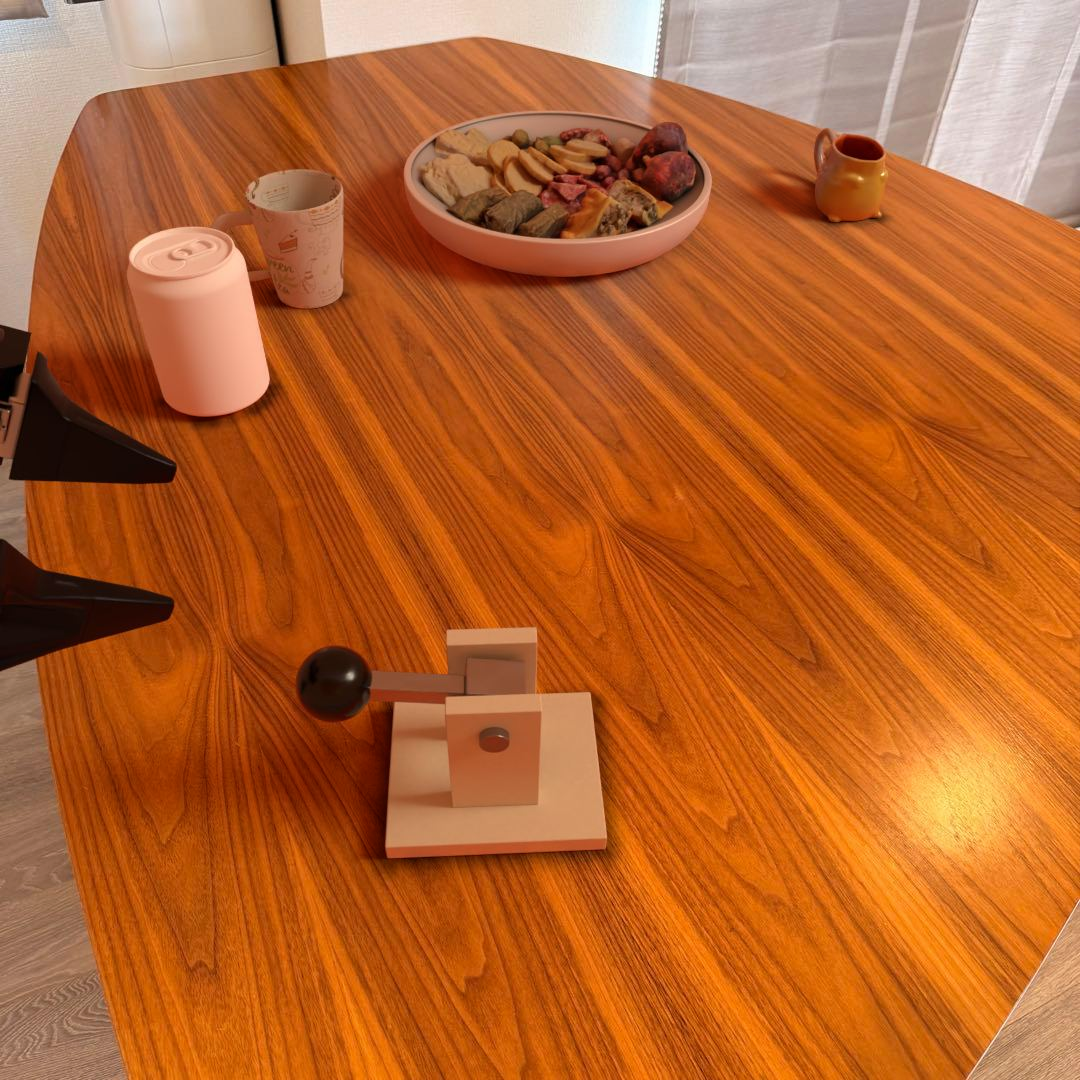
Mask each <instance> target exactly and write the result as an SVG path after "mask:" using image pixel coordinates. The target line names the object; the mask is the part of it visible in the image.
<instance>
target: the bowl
mask: <svg viewBox="0 0 1080 1080" xmlns="http://www.w3.org/2000/svg"><path fill="white" fill-rule="evenodd" d="M712 182H713V179H712V174H711V170H710V168H709V166H708V164H707V163H706V161H705V160H704V158H703V157H702V155H700V153H698V151H697V150H695V149H694V148H693V147H691V146H690V145H689V144H688V137H687V134H686V131H685V130H684V128H683V127H682V126H681V125H680V124H678V123H677V122H673V121H663V122H660V123H657V124H656V125H654V126H652V125H648V124H645V123H642V122H639V121H635V120H630V119H627V118H623V117H618V116H613V115H607V114H602V113H595V112H588V111H587V112H586V111H576V110H574V111H572V110H557V109H556V110H550V109H549V110H545V109H544V110H542V109H541V110H524V111H522V110H521V111H512V112H504V113H503V112H502V113H498V114H491V115H487V116H481V117H477V118H473V119H469V120H465V121H463V122H460V123H456V124H453V125H452V126H448V127H446V128H444V129H441V130H439V131H437V132H436V133H434V134H432V135H430V136H429V137H427V138H426V139H424V140H423V141H422V142H419V144H418V145H417V146H416V147H415V148H414V149H413V150H411V153H410V154H409V155H408V157H407V159H406V160H405V163H404V167H403V183H404V191H405V196H406V200H407V203H408V206H409V207H410V210H411V212H412V213H413V216H414V217H415V218H416V220H417V221H418V223H419V224H420V225H421V226H422V228H423V229H424V230H425V231H426V232H427V233H428V234H429V235H430V236H431V237H432V238H433V239H434V240H435V241H437V242H438V243H439V244H440V245H442V246H444V247H445V248H447V249H448V250H450V251H452V252H454V253H455V254H457V255H459V256H460V257H461V256H462V257H463V258H466V259H468V260H469V261H473V262H474V263H478V264H481V265H483V266H486V267H490V268H494V269H497V270H501V271H506V272H511V273H516V274H522V275H527V276H538V277H539V276H540V277H555V278H558V277H561V278H566V277H567V278H569V277H570V278H571V277H573V278H575V277H587V276H588V277H589V276H598V275H605V274H609V273H615V272H619V271H624V270H628V269H631V268H634V267H638V266H641V265H644V264H645V263H648V262H651V261H653V260H655V259H658V258H659V257H662V256H663V255H665V254H666V253H668V252H670V251H672V250H674V248H676V247H677V246H679V245H680V244H681V243H683V242H684V241H685V240H686V239H687V238H688V237H689V236H690V235H691V234H692V233H693V231H695V229H696V228H697V226H698V225H699V223H700V222H701V220H702V219H703V217H704V215H705V213H706V211H707V208H708V205H709V202H710V196H711V193H712V192H711V190H712V185H713V183H712Z"/></svg>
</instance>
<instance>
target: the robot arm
mask: <svg viewBox="0 0 1080 1080" xmlns="http://www.w3.org/2000/svg"><path fill="white" fill-rule="evenodd" d="M31 337H32V331H31V332H30V331H26V330H23V329H19V328H15V327H12V326H7V325H4V324H0V467H1V466H2V465H3V460H4V459H8V460H12V461H11V465H10V470H9V475H8V481H9V480H10V481H21V482H22V481H25V482H49V483H51V482H59V483H60V482H61V483H86V484H87V483H89V484H118V485H119V484H120V485H153V484H154V485H156V484H171V483H172V482H173V481H174V479H175V477H176V474H177V472H178V464H177V462H176V461H175V460H173V459H171V458H169V457H167V456H166V455H165V454H163V453H160V452H159V451H157V450H155V449H153V448H152V447H151V446H149V445H146V443H145V444H144V443H142V442H141V441H139V440H138V439H136V438H134V437H132V436H131V435H129V434H126V433H125V432H123V431H122V430H120V429H118V428H116V427H114V426H113V425H111V424H109V423H108V422H106V421H104V420H103V419H100V418H98V417H97V416H96V415H94V414H93V413H91V412H89V411H88V410H87V409H85V408H83V407H81V406H80V405H78V404H77V403H76V402H74V401H73V400H71V399H70V398H69V397H68V395H66V393H65V391H64V390H63V389H62V387H61V386H60V384H59V382H58V381H57V379H56V378H55V376H54V375H53V373H52V372H51V370H50V368H49V366H48V362H49V359H48V358H47V356H46V355H45V354H44V353H43V352H41V351H39V350H36V351H37V352H36V356H35V360H34V363H33V367H32V373H29V372H26V371H24V370H25V365H26V360H27V355H28V350H29V346H30V342H31ZM175 602H176V601H175V599H174V598H173V597H172V596H168V595H165V594H161V593H158V592H154V591H152V590H147V589H144V588H140V587H134V586H130V585H125V584H119V583H114V582H109V581H104V580H99V579H95V578H94V579H93V578H88V577H83V576H77V575H72V574H68V573H62V572H56V571H52V570H46V569H43V568H41V567H40V566H38V565H36V564H35V563H34V562H32V560H30V559H29V558H28V557H27V556H25V554H23V553H22V552H21V551H19V550H18V549H17V548H16V547H14V546H13V545H12V544H11V543H10V542H9V541H8V540H6V539H5V538H0V672H5V671H7V670H9V669H12V668H14V667H17V666H20V665H23V664H25V663H28V662H31V661H35V660H36V659H39V658H42V657H45V656H47V655H50V654H53V653H56V652H59V651H62V650H66V649H68V648H71V647H76V646H77V647H78V646H79V645H83V644H86V643H91V642H94V641H98V640H102V639H104V638H109V637H112V636H117V635H120V634H123V633H127V632H131V631H134V630H139V629H142V628H145V627H149V626H153V625H156V624H160V623H163V622H167V621H168V620H170V618H171V617H172V614H173V611H174V609H175V604H176V603H175Z"/></svg>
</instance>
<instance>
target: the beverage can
mask: <svg viewBox="0 0 1080 1080" xmlns="http://www.w3.org/2000/svg"><path fill="white" fill-rule="evenodd" d="M128 261H129V263H128V265H127V270H126V281H127V283H128V287H129V290H130V293H131V297H132V300H133V303H134V306H135V309H136V313H137V316H138V320H139V323H140V327H141V329H142V333H143V335H144V339H145V342H146V345H147V348H148V352H149V355H150V358H151V361H152V365H153V368H154V371H155V374H156V375H155V376H156V378H157V381H158V384H159V387H160V390H161V394H162V397H163V399H164V401H165V402H166V403H167V405H169V406H170V407H171V408H172V409H173V410H175V411H177V412H179V413H183V414H186V415H189V416H195V417H218V416H219V417H220V416H223V415H228V414H232V413H236V412H239V411H241V410H244V409H245V408H247V407H250V406H251V405H252V404H254V403H256V402H257V401H258V400H259V399H260V398H262V396H264V394H265V393H266V391H267V390H268V387H269V385H270V380H271V379H270V372H269V367H268V361H267V358H266V354H265V350H264V349H265V348H264V343H263V339H262V334H261V330H260V325H259V320H258V316H257V311H256V306H255V305H256V304H255V301H254V297H253V292H252V287H251V283H250V282H251V281H249V277H248V272H249V271H248V268H247V263H246V259H245V257H244V255H243V254H242V252H241V251H240V250H239V249H238V248H237V247H236V245H235V242H234V240H233V238H232V237H231V236H230V235H228V234H227V233H226V232H225V233H223V232H221V231H219V230H215V229H211V228H210V227H207V226H206V227H205V226H180V227H173V228H168V229H164V230H161V231H157V232H154V233H152V234H149V235H147V236H146V237H144V238H142V239H140V240H139V241H137V242H136V243H135V244H134V245H132V247H131V249H130V251H129V253H128Z"/></svg>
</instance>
